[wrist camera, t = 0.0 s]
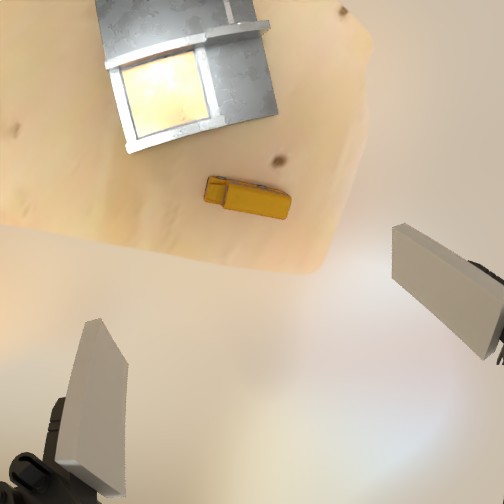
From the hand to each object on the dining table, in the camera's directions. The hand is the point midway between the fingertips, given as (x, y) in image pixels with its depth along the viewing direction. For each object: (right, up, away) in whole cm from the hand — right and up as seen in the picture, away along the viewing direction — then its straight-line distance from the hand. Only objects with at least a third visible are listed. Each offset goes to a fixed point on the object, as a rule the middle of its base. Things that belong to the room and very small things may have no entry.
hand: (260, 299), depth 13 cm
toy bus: (-1, +9, +27) cm, 28 cm away
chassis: (-8, +25, +17) cm, 31 cm away
